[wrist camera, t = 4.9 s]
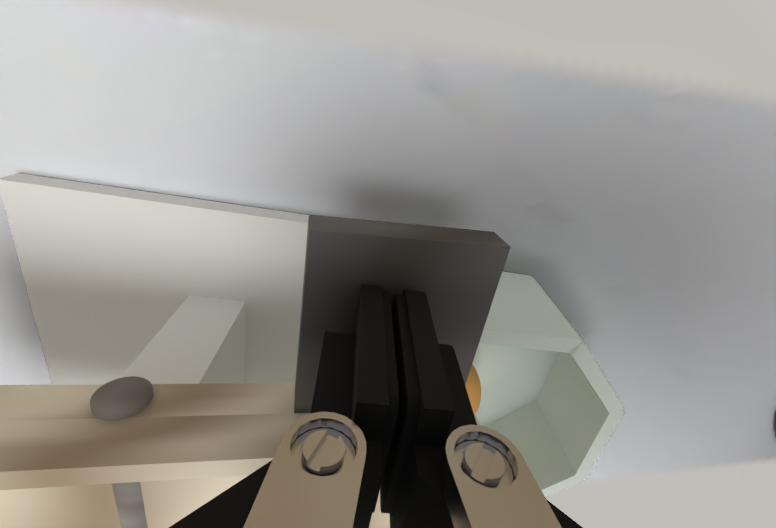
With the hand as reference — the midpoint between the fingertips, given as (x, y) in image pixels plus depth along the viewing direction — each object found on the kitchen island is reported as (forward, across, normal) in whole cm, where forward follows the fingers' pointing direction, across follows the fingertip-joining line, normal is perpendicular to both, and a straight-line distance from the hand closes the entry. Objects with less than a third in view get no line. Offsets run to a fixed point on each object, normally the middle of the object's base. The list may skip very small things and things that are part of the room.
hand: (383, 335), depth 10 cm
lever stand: (+8, +7, +6) cm, 12 cm away
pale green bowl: (+8, -5, +6) cm, 11 cm away
